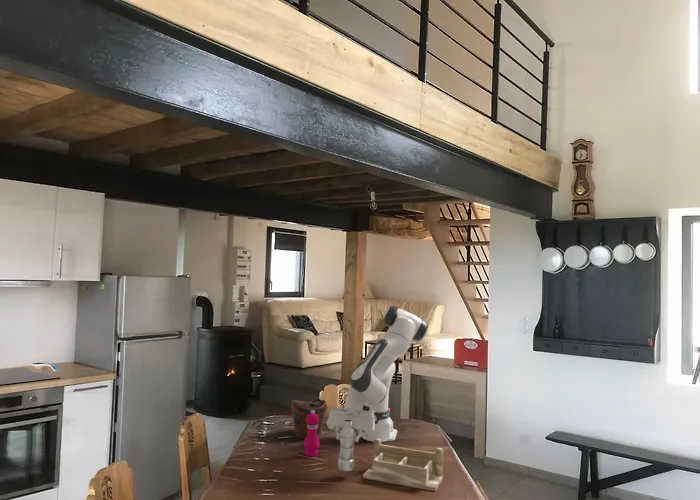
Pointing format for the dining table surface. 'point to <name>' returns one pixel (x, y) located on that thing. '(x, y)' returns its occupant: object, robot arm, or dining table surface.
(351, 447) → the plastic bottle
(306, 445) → the magenta pepper grinder
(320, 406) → the brown flower pot
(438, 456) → the wooden compartment rack
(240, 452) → the dining table surface
